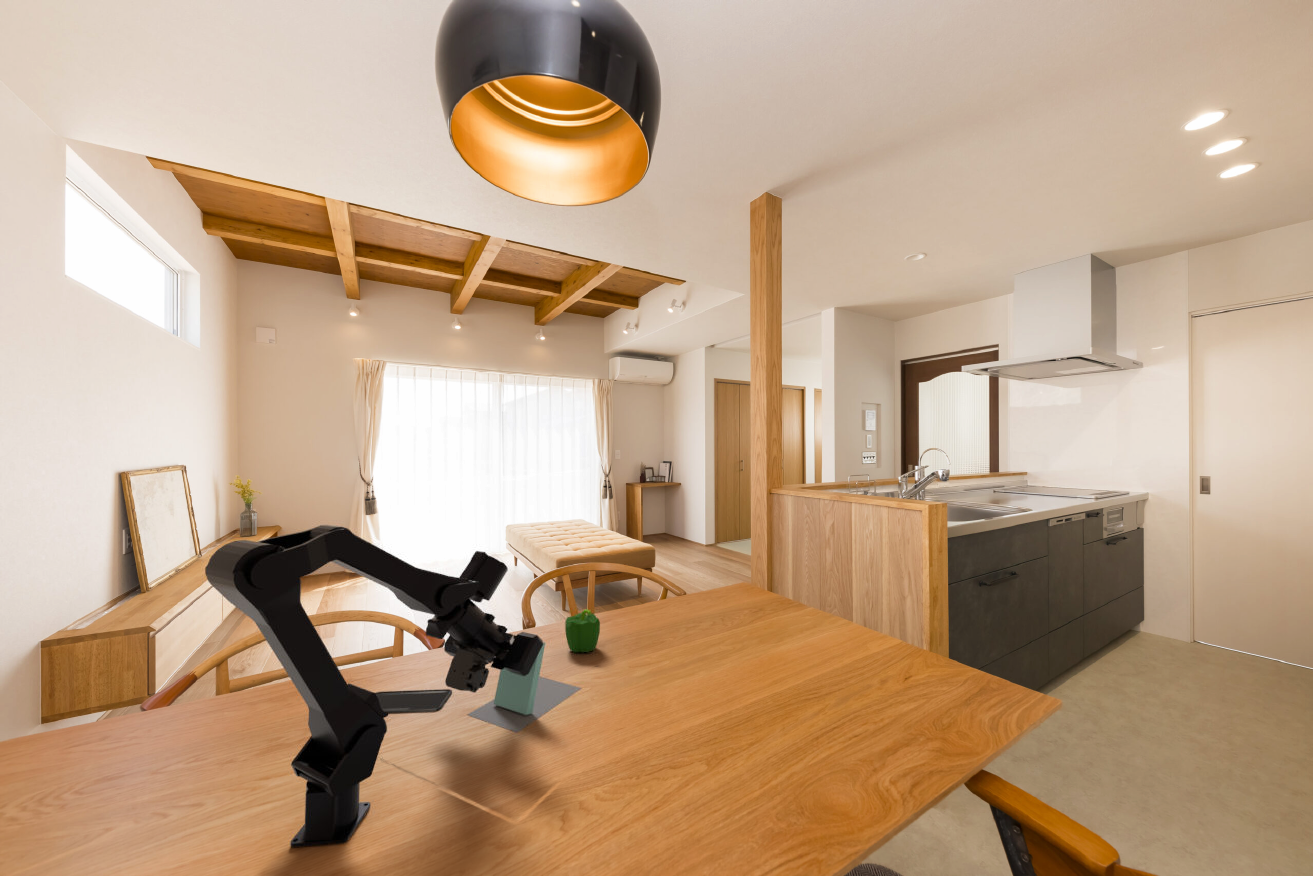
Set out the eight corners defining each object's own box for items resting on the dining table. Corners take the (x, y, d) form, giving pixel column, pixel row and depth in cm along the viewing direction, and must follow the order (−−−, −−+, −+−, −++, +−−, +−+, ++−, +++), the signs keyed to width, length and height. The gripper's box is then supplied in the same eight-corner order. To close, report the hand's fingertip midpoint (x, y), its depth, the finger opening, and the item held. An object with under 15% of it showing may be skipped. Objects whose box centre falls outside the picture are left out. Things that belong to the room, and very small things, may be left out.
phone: (374, 691, 96) (453, 688, 97) (374, 697, 96) (453, 694, 97) (353, 713, 88) (439, 709, 89) (352, 719, 88) (439, 715, 89)
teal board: (526, 715, 87) (539, 643, 91) (493, 704, 91) (507, 635, 94) (532, 713, 88) (545, 642, 92) (499, 703, 92) (513, 635, 96)
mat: (517, 734, 82) (517, 732, 82) (466, 717, 88) (466, 714, 88) (581, 690, 98) (581, 688, 98) (535, 677, 104) (535, 675, 104)
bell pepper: (561, 646, 121) (561, 605, 121) (593, 641, 124) (593, 601, 125) (570, 659, 113) (570, 615, 113) (604, 653, 117) (604, 611, 117)
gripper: (400, 661, 80) (455, 700, 90) (482, 686, 72) (533, 726, 81) (442, 600, 87) (488, 641, 97) (521, 616, 79) (564, 660, 88)
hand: (516, 666), depth 91 cm, fingers closed
